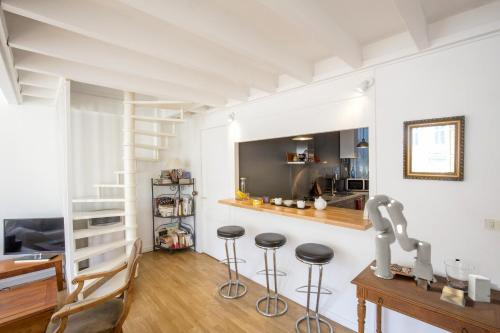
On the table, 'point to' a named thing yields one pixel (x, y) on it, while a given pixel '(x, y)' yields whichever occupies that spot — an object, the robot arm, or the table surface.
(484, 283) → the skincare box
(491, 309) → the table surface
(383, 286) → the table surface
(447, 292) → the oak block
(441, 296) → the blueprint board
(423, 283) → the walnut block
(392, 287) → the table surface
